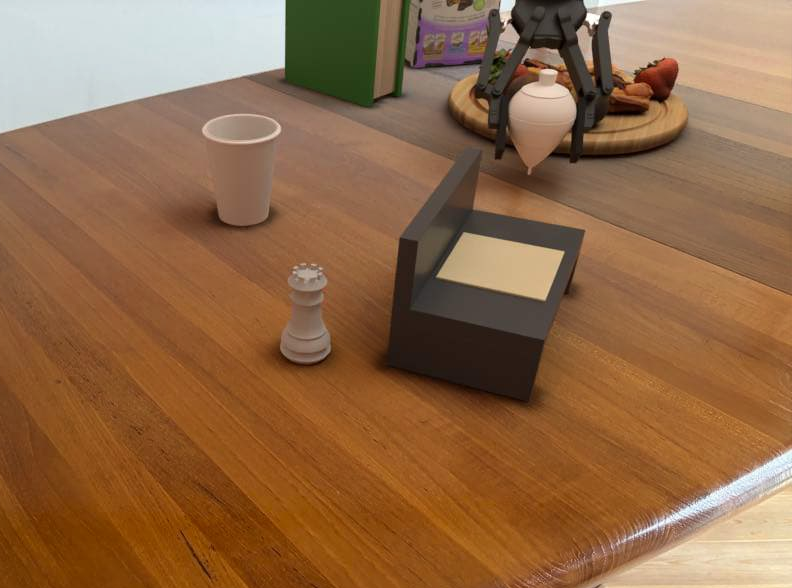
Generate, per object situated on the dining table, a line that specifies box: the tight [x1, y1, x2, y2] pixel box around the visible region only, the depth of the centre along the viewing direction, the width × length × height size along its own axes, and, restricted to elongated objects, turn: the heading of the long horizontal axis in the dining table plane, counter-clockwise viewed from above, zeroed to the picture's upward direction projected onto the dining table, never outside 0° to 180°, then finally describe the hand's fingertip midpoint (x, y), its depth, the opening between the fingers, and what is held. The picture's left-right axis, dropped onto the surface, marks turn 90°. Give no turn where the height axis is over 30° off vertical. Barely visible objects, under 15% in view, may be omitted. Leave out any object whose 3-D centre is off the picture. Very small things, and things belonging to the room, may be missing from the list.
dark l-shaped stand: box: [385, 146, 586, 403], centre depth 71 cm, size 12×20×12 cm, turn 154°
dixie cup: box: [201, 113, 282, 227], centre depth 90 cm, size 8×8×10 cm
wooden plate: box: [447, 48, 689, 156], centre depth 114 cm, size 32×32×8 cm
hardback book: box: [284, 0, 410, 108], centre depth 120 cm, size 18×7×24 cm, turn 42°
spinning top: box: [507, 69, 577, 176], centre depth 94 cm, size 8×8×12 cm
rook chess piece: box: [279, 262, 332, 365], centre depth 69 cm, size 4×4×8 cm
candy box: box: [405, 0, 502, 69], centre depth 132 cm, size 14×6×16 cm, turn 100°
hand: (537, 156), depth 93 cm, fingers closed on spinning top, 8 cm apart
